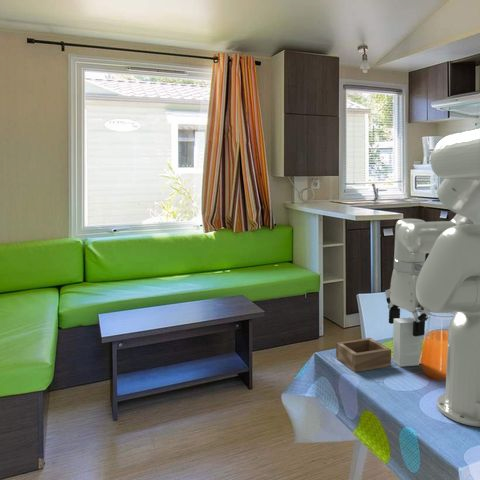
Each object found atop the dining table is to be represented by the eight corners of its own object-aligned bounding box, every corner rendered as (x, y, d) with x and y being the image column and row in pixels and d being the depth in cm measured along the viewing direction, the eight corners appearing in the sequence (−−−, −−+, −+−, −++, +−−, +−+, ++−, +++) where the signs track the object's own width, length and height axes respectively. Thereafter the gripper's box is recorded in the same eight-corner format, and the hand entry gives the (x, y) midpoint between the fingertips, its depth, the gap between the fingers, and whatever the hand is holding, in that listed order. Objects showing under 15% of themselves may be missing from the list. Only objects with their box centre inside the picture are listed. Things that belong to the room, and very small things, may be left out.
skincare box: (412, 359, 119) (414, 316, 117) (421, 365, 115) (422, 321, 113) (391, 360, 118) (393, 318, 117) (399, 367, 114) (400, 323, 112)
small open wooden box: (390, 366, 115) (391, 349, 114) (354, 372, 111) (355, 355, 111) (369, 353, 124) (370, 337, 123) (335, 358, 120) (336, 342, 120)
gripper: (445, 272, 106) (441, 339, 109) (399, 258, 122) (396, 317, 125) (420, 275, 104) (416, 343, 107) (376, 260, 120) (374, 320, 123)
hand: (405, 328), depth 116 cm, fingers open, 9 cm apart
